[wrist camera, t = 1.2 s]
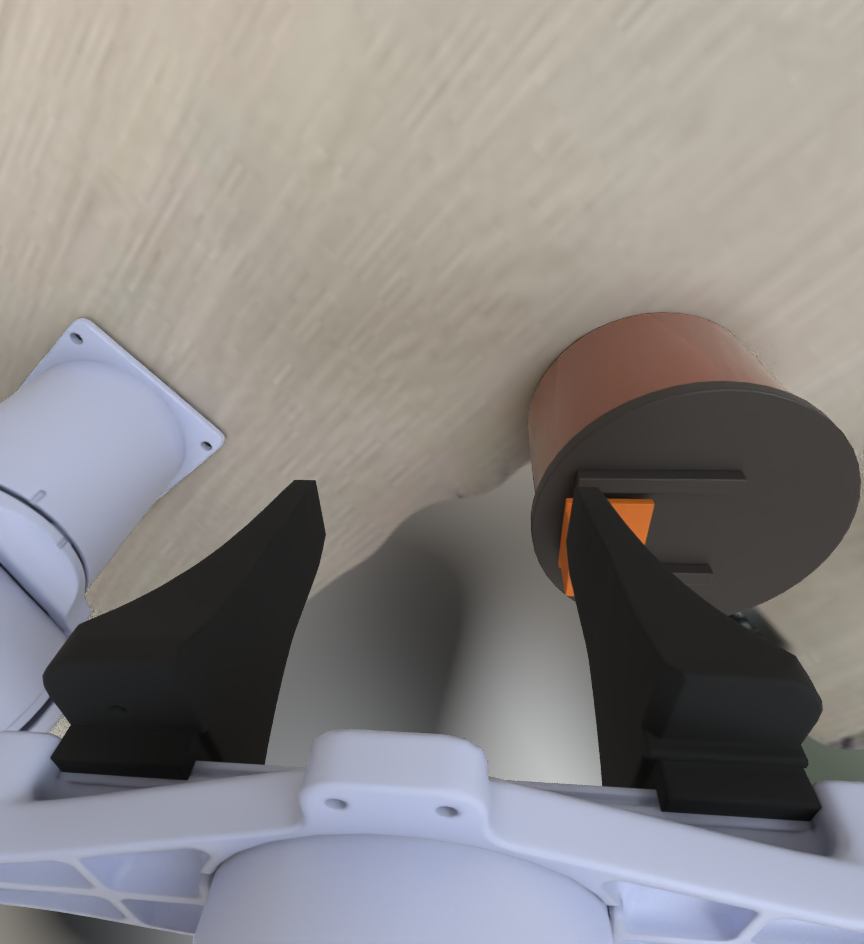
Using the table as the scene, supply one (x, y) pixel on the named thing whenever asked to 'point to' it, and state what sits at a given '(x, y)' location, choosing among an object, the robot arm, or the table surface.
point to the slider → (630, 511)
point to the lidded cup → (692, 456)
